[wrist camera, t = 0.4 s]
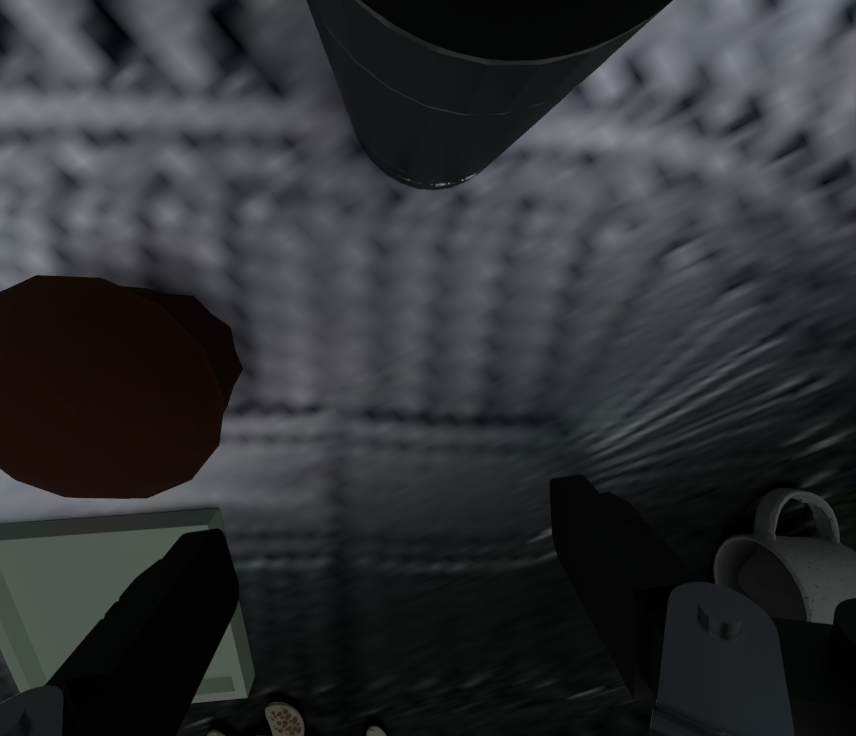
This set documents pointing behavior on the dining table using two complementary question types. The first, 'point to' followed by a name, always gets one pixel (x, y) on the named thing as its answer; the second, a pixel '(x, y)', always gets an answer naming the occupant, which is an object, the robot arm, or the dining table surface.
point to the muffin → (109, 386)
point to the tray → (95, 591)
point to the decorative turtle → (291, 722)
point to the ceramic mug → (789, 563)
